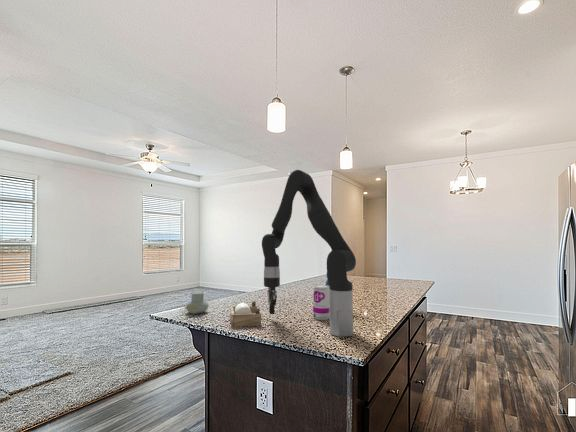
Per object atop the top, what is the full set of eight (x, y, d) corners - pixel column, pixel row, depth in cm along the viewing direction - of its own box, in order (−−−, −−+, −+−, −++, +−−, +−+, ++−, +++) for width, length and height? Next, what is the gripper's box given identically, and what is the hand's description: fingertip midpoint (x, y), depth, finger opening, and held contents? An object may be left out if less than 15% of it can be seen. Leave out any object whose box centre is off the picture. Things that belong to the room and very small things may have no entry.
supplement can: (324, 321, 143) (324, 288, 145) (309, 318, 148) (309, 286, 149) (333, 317, 150) (333, 286, 151) (318, 315, 155) (318, 284, 156)
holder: (261, 325, 136) (261, 309, 137) (231, 327, 133) (231, 310, 134) (256, 315, 154) (256, 301, 154) (230, 317, 151) (230, 302, 151)
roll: (233, 321, 136) (248, 327, 137) (240, 305, 137) (255, 312, 139) (232, 314, 148) (245, 320, 150) (238, 300, 150) (252, 306, 151)
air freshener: (210, 311, 162) (211, 292, 163) (201, 315, 155) (202, 294, 155) (192, 310, 166) (193, 291, 167) (183, 313, 158) (183, 293, 159)
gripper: (282, 277, 142) (282, 316, 140) (277, 274, 155) (277, 310, 153) (266, 278, 140) (266, 317, 139) (262, 275, 153) (262, 311, 151)
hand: (271, 313), depth 146 cm, fingers closed
